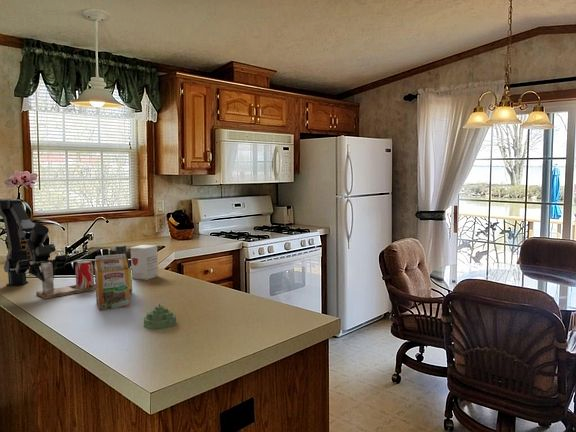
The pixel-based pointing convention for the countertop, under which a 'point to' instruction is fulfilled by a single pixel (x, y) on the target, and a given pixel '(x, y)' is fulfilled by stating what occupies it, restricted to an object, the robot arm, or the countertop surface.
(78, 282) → the soda can
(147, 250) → the supplement box
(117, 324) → the countertop surface
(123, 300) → the food package
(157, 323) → the decorative artifact
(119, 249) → the sauce bottle
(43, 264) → the brown board
